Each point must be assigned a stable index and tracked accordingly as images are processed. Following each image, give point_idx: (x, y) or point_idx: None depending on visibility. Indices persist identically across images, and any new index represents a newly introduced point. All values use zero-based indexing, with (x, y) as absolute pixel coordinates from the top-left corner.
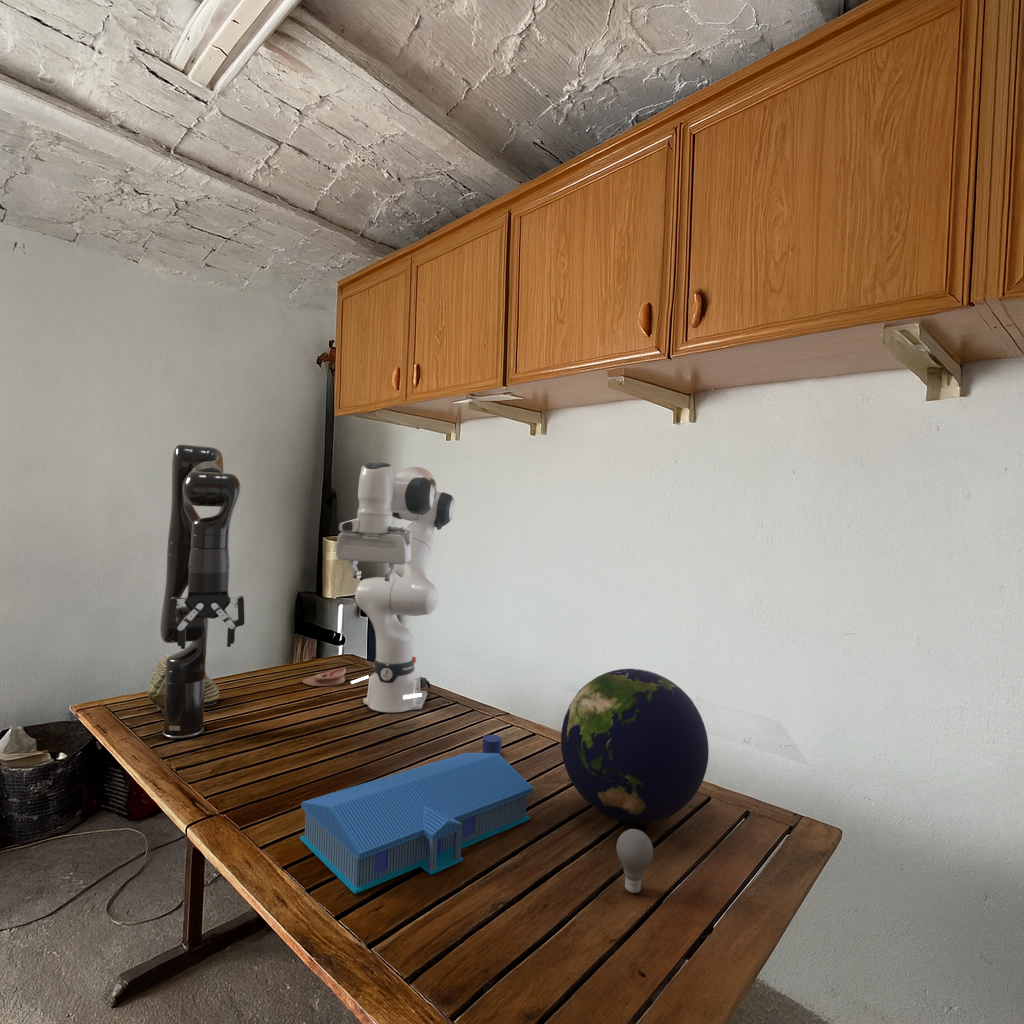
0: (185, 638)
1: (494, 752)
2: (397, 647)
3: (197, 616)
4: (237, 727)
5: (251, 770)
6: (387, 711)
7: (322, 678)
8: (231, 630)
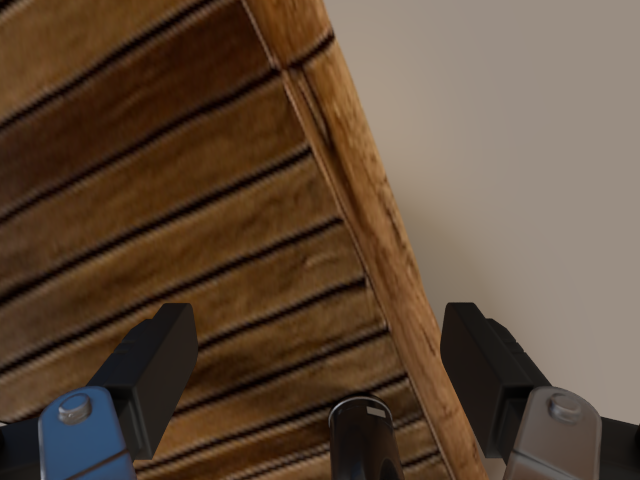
0: (462, 377)
1: None
2: None
3: None
4: (274, 420)
5: (237, 242)
6: (2, 425)
7: None
8: (110, 390)
